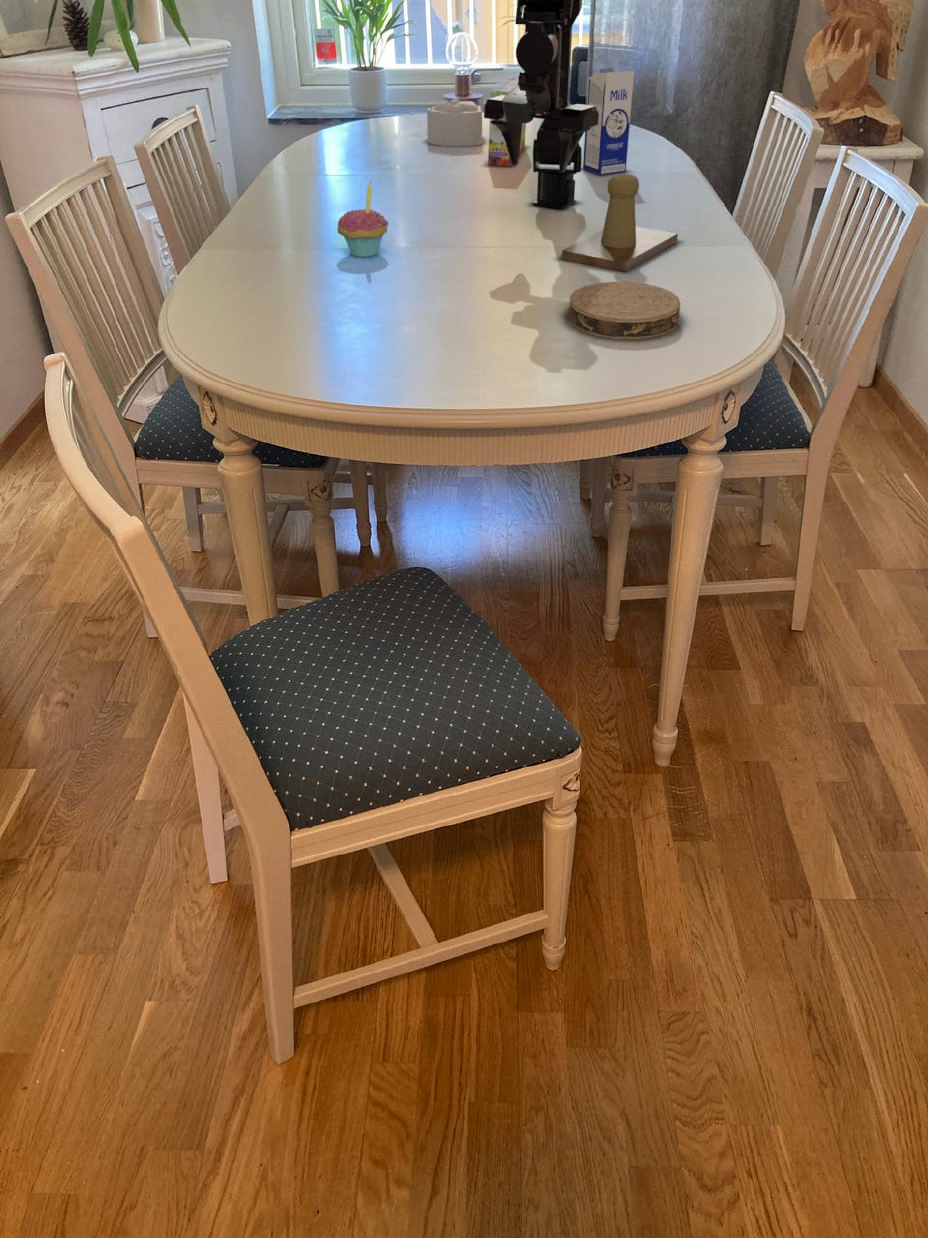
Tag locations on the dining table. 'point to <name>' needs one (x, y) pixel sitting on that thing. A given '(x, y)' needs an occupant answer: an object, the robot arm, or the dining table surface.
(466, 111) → the lumpy-topped squat cylinder
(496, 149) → the snack box
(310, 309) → the dining table surface
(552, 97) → the robot arm
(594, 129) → the milk carton
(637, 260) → the serving board
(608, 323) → the wood slice
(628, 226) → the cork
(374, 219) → the cupcake
